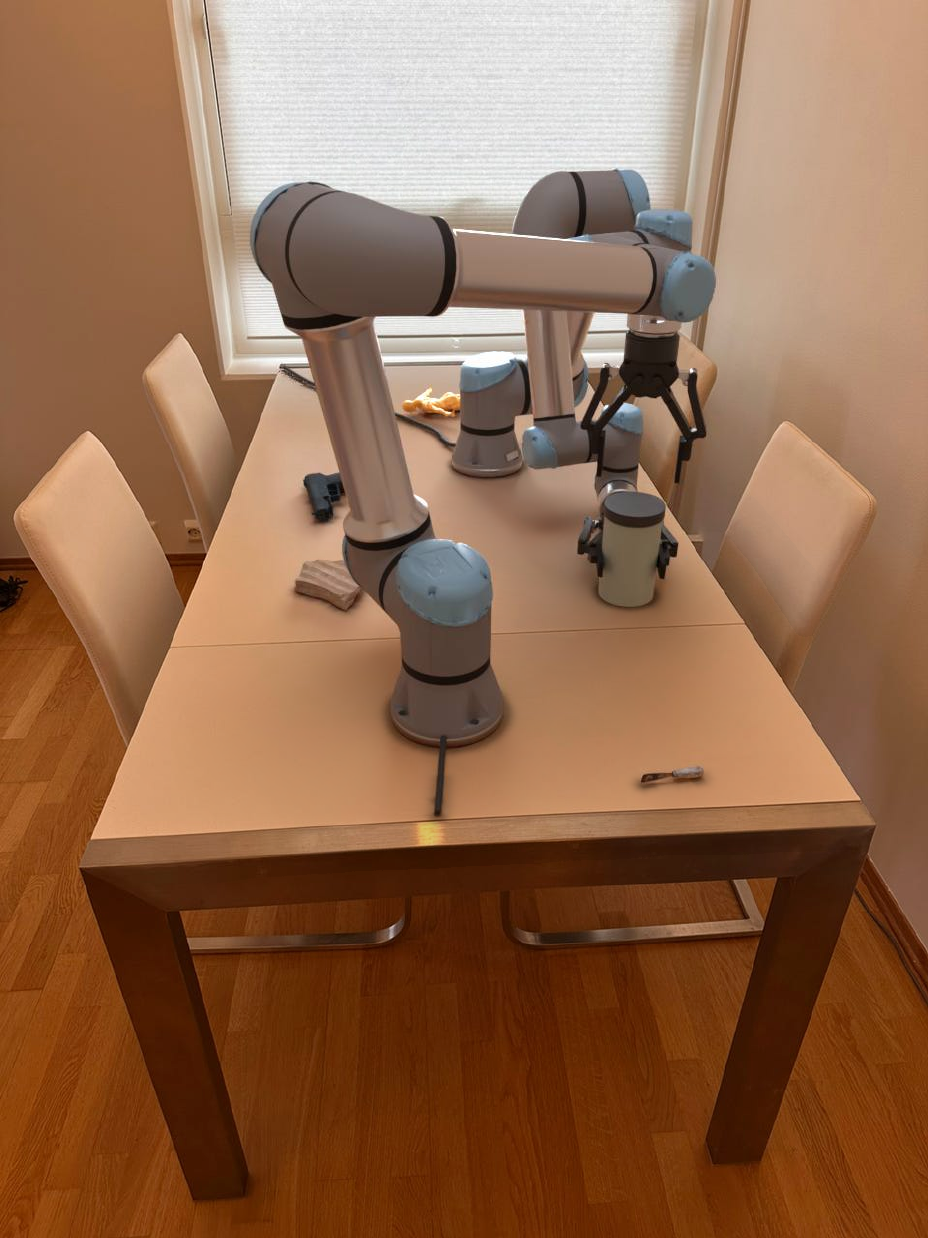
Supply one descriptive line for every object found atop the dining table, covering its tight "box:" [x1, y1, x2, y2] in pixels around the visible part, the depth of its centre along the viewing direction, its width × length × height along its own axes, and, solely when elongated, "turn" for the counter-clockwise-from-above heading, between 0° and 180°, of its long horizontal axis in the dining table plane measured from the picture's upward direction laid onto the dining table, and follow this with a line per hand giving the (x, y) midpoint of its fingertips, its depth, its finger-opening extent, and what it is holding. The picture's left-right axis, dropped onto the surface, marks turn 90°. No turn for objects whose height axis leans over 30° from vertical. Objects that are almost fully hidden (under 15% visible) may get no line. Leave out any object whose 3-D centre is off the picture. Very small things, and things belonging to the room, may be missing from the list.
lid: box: [603, 491, 667, 527], centre depth 140 cm, size 10×10×2 cm
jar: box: [597, 517, 662, 608], centre depth 144 cm, size 9×9×16 cm
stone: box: [294, 559, 363, 611], centre depth 149 cm, size 13×12×3 cm
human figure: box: [402, 385, 460, 418], centre depth 225 cm, size 20×20×4 cm
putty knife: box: [640, 765, 705, 784], centre depth 109 cm, size 1×8×2 cm, turn 103°
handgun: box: [302, 471, 345, 523], centre depth 178 cm, size 3×18×12 cm
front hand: (637, 476), depth 137 cm, fingers open, 11 cm apart
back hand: (631, 570), depth 141 cm, fingers closed on jar, 9 cm apart
